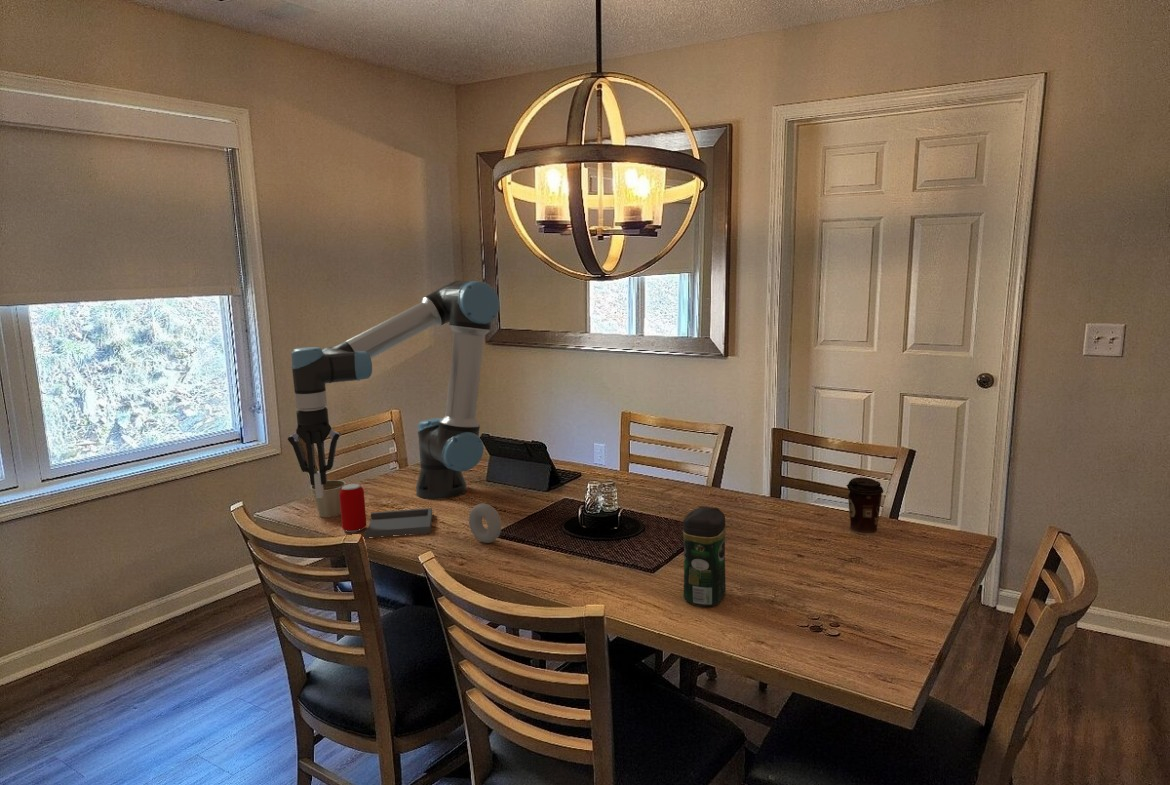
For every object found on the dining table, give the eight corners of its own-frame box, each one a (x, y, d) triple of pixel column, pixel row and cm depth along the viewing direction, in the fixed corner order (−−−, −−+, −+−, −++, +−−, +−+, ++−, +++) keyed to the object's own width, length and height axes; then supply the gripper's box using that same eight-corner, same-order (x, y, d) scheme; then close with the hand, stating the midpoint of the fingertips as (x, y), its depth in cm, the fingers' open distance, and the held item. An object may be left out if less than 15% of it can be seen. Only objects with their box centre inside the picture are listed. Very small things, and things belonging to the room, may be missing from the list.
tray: (432, 514, 203) (432, 507, 202) (430, 533, 188) (429, 526, 188) (371, 519, 200) (371, 512, 200) (364, 538, 186) (364, 531, 185)
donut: (505, 544, 180) (503, 505, 178) (495, 548, 177) (493, 509, 175) (476, 536, 186) (474, 498, 184) (466, 540, 183) (464, 502, 181)
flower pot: (341, 519, 200) (338, 489, 199) (307, 520, 201) (305, 490, 199) (352, 508, 210) (350, 479, 208) (320, 509, 210) (318, 480, 208)
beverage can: (337, 533, 190) (334, 489, 188) (350, 524, 196) (347, 482, 194) (358, 534, 189) (355, 490, 187) (371, 526, 195) (367, 483, 192)
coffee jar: (692, 584, 154) (692, 501, 151) (729, 591, 151) (730, 505, 148) (678, 604, 146) (678, 516, 142) (716, 611, 142) (717, 521, 139)
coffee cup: (842, 533, 181) (844, 483, 179) (847, 522, 188) (849, 474, 186) (879, 538, 177) (881, 487, 175) (883, 527, 184) (885, 478, 182)
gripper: (340, 403, 190) (348, 490, 194) (288, 406, 188) (297, 494, 192) (335, 409, 183) (343, 498, 187) (281, 412, 181) (290, 502, 185)
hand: (320, 496), depth 189 cm, fingers closed
